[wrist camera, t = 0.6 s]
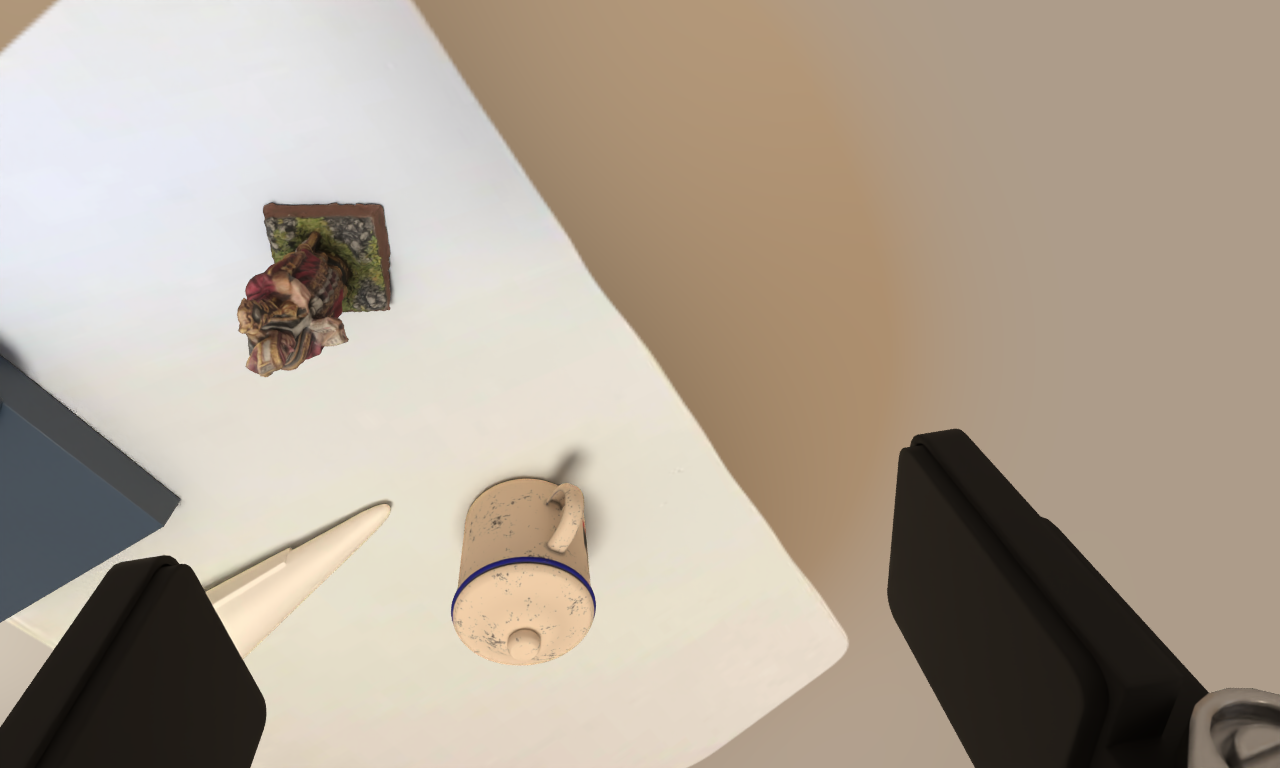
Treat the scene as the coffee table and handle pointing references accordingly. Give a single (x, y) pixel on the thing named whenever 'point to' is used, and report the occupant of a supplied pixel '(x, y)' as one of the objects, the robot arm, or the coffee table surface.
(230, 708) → the robot arm
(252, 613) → the long cone
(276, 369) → the figurine
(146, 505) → the button box
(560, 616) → the teacup with lid
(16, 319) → the coffee table surface
